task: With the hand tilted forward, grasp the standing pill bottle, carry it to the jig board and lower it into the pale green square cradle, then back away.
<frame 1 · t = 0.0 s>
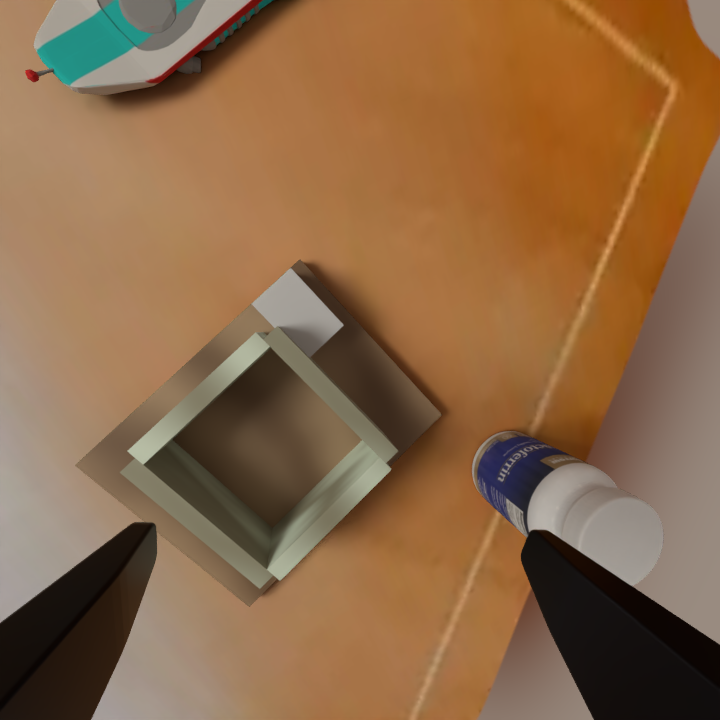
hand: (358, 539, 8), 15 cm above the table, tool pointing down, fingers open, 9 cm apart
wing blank: (298, 316, 22), resting on jig
pill bottle: (502, 464, 26), on the table
jig: (275, 433, 23), on the table
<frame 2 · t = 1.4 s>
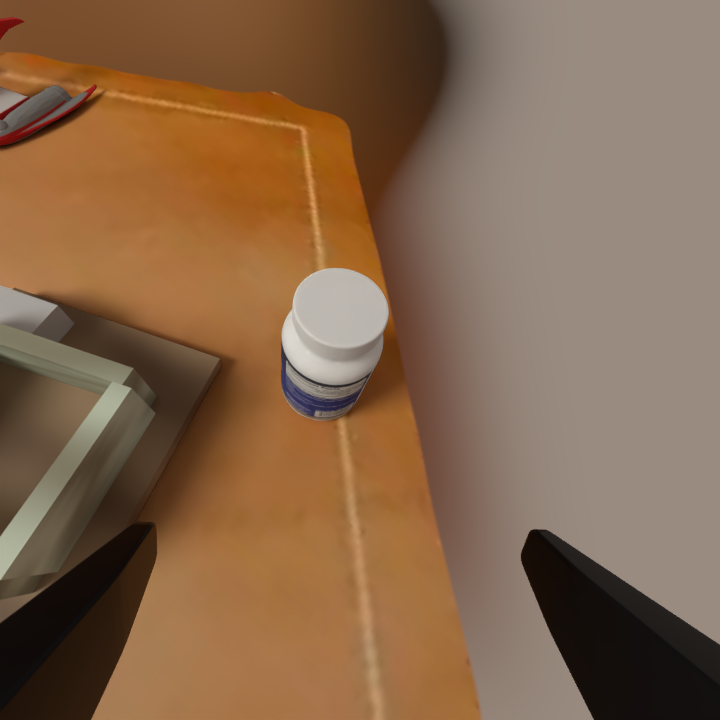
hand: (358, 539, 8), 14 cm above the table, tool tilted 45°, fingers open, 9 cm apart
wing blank: (23, 330, 22), resting on jig
pill bottle: (320, 386, 25), on the table
jig: (28, 457, 19), on the table
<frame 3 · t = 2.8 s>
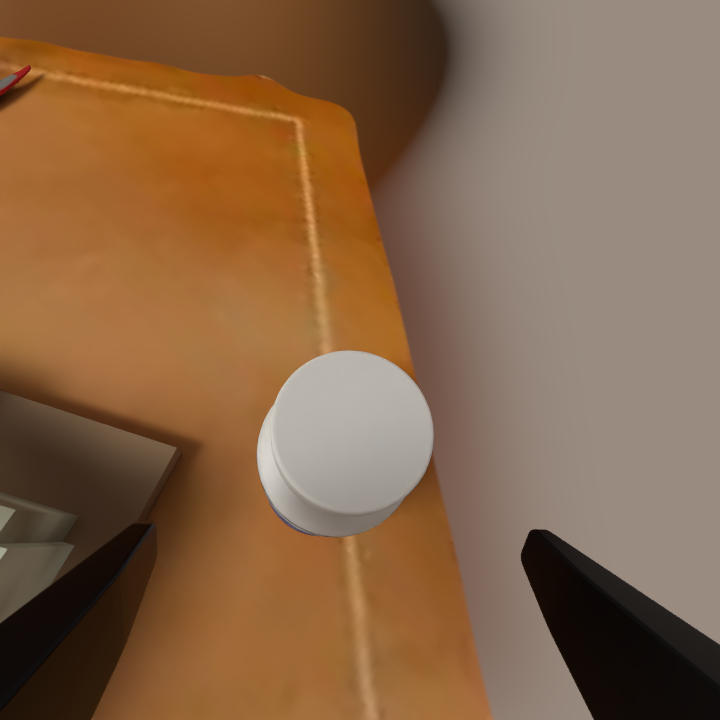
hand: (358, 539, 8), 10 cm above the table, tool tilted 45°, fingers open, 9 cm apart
pill bottle: (319, 476, 18), on the table
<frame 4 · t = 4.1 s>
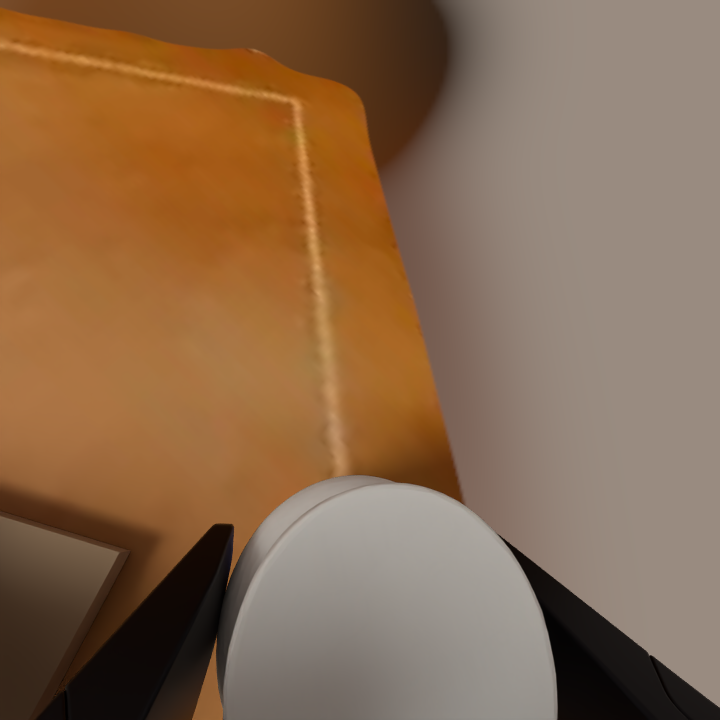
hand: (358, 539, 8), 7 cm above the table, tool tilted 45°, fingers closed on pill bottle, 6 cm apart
pill bottle: (322, 575, 14), on the table, touching gripper
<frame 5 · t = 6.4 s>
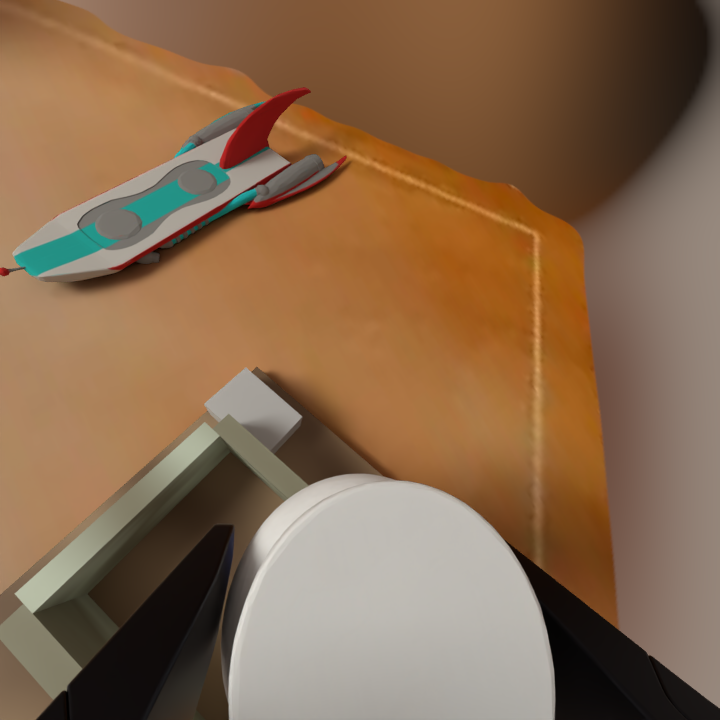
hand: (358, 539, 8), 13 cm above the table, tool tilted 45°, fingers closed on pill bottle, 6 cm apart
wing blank: (256, 420, 21), resting on jig
pill bottle: (325, 573, 14), point 6 cm above the table, touching gripper
jig: (228, 570, 18), on the table
toy spaceship: (202, 205, 29), on the table
when the fingers open (9 cm above the table, at t = 8.2 s): pill bottle drops 1 cm, resting on jig.
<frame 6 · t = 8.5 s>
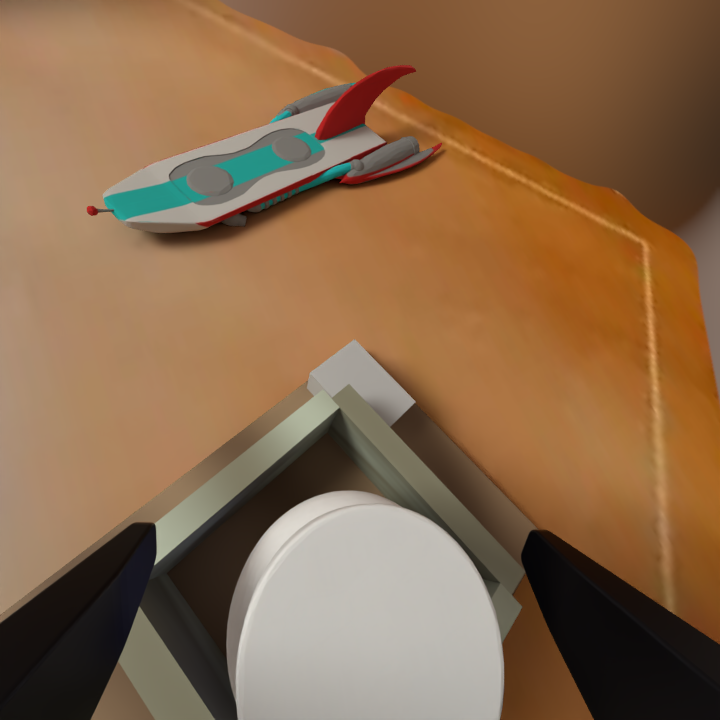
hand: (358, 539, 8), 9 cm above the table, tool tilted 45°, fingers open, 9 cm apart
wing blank: (355, 401, 18), resting on jig
pill bottle: (319, 576, 15), point 1 cm above the table, touching jig
jig: (317, 569, 15), on the table
toy spaceship: (290, 176, 27), on the table
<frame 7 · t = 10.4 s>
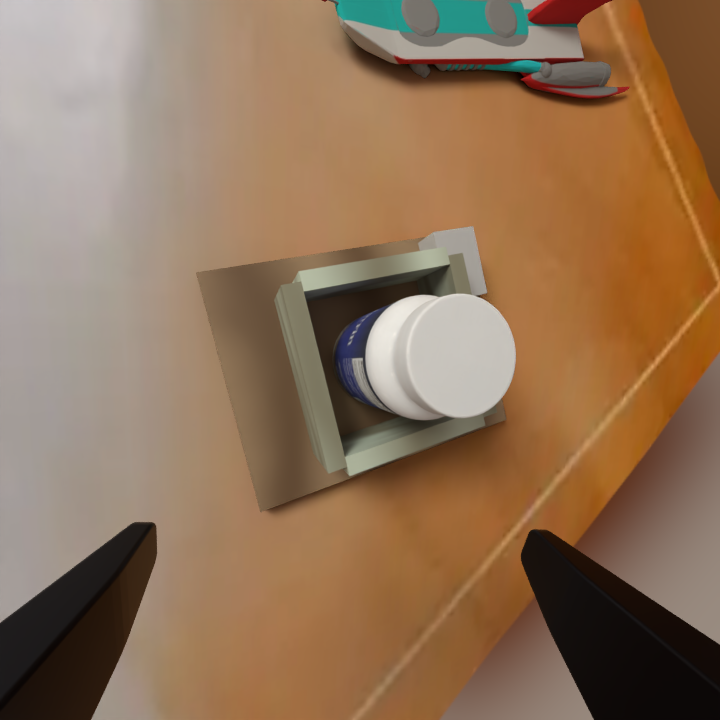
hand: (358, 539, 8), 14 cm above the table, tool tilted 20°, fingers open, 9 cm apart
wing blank: (443, 271, 24), resting on jig
pill bottle: (372, 359, 22), point 1 cm above the table, touching jig
jig: (368, 357, 23), on the table
toy spaceship: (482, 45, 27), on the table
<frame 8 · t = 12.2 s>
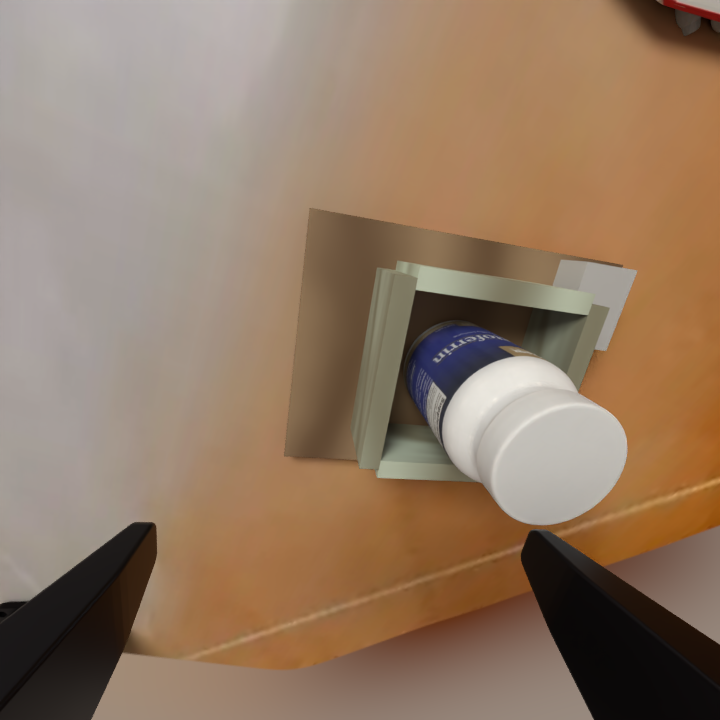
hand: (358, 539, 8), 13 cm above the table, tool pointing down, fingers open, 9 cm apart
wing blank: (570, 302, 20), resting on jig
pill bottle: (446, 364, 21), point 1 cm above the table, touching jig
jig: (443, 357, 21), on the table
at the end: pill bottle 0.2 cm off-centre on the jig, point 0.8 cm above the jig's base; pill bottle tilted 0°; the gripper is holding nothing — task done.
